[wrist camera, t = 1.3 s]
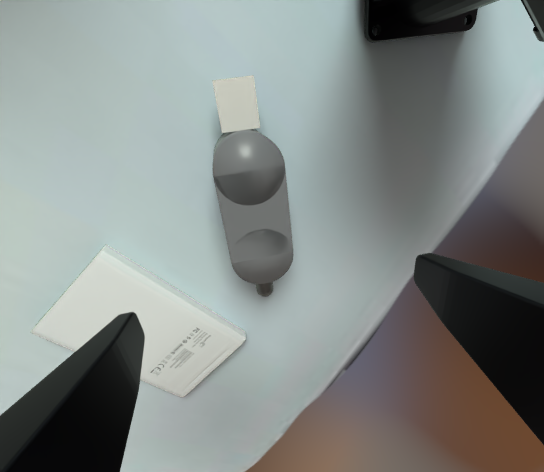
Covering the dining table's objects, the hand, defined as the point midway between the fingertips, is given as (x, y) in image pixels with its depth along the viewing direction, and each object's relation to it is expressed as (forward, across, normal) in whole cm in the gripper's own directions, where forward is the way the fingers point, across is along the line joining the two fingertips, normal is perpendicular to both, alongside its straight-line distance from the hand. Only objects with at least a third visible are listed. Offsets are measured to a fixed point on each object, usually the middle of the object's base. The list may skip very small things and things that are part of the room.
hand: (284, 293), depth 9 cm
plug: (+11, 0, 0) cm, 11 cm away
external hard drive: (+12, +9, +9) cm, 17 cm away
